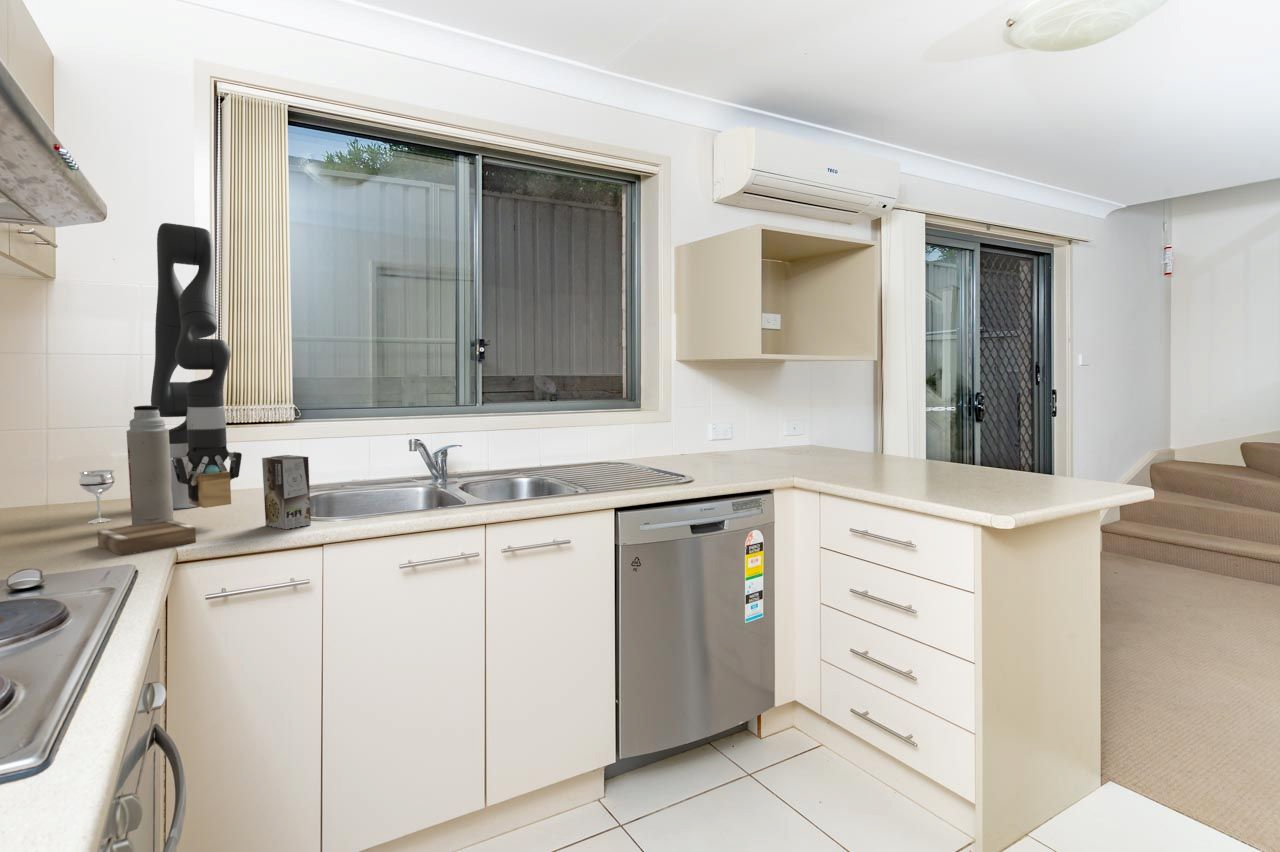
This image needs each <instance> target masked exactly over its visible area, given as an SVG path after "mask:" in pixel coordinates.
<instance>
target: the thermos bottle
mask: <svg viewBox="0 0 1280 852" xmlns="http://www.w3.org/2000/svg"><path fill="white" fill-rule="evenodd" d="M159 409H160V406H152V405H147V404H146V405H137V406H133V410H134V412H133V418H132V419H131V420H129V424H128V426H129V429H128V430H126V444H127V447H126V449H127V461H128V463H127V465H128V479H129V480H128V483H129V493H130V494H129V497H130V512H131V513H130V514H131V526H137V525H144V524H151V523H157V522H164V520H168V519H171V520H174V521H175V519H174V509H173V500H172V490H171V463H170V445H169V430H170V429H168V428H166V422H165V419H163V417H160V412H159Z"/></svg>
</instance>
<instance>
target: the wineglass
mask: <svg viewBox="0 0 1280 852" xmlns="http://www.w3.org/2000/svg"><path fill="white" fill-rule="evenodd" d="M114 472H115V470H113V469H102V470H101V469H99V470H98V469H97V470H87V471H81V472H78V474H79V475H80V477H79V481H78V484H79V485H80V487H81V488H82V489H83V490H84V491H86V492H87V493H90V494H93V495H94V496H96V507H97V514H98V515H97V516H98V517H97V518H95V519H92V520H89V521H87V522H88V523H87V524H90V523H93V524H98V523H97V522H104V523H107V522H106V521H109V520H111V518H106V517H105V518H104V517H102V516H101V511H102V510H101V496H102V495H103V493H105V492H107V491H109V490H110V489H112V488H113V486H114V485H115V482H116V478H115V476H114ZM109 522H110V521H109Z"/></svg>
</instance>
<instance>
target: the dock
mask: <svg viewBox="0 0 1280 852" xmlns="http://www.w3.org/2000/svg"><path fill="white" fill-rule="evenodd" d="M96 531H97V545H98V547H100V546H101V547H100V548H102V547H103V549H104V548H105V550H107V551H109V550H110V552H112V551H113V553H114V552H115V554H116V553H117V555H119V554H120V555H119V556H125V555H124V554H127V555H130V554H129V553H133V554H135V553H134V552H138V553H141V552H140V551H144V552H147V551H148V550H149V551H154V549H155V550H159V549H160V548H161V549H165V547H166V548H171V547H172V548H173V547H177V546H182V545H181V544H183V545H188V544H187V543H189V544H193V543H192V542H194V543H196V542H197V537H196V534H197V533H196V526H194V525H191V524H187V523H184V522H181V521H177V520H175V519H174V520H171V519H168V520H164V522H157V523H151V524H144V525H137V526H132V525H131V526H124V527H119V528H112V529H105V528H102V529H97V530H96ZM176 545H177V546H176Z"/></svg>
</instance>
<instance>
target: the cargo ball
mask: <svg viewBox="0 0 1280 852" xmlns="http://www.w3.org/2000/svg"><path fill="white" fill-rule="evenodd" d="M219 472H220V470H219V468H218V467H217V466H216V465H209V466H207V467H206V469H205V470H204V471H203V474H211V473H219Z"/></svg>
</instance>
